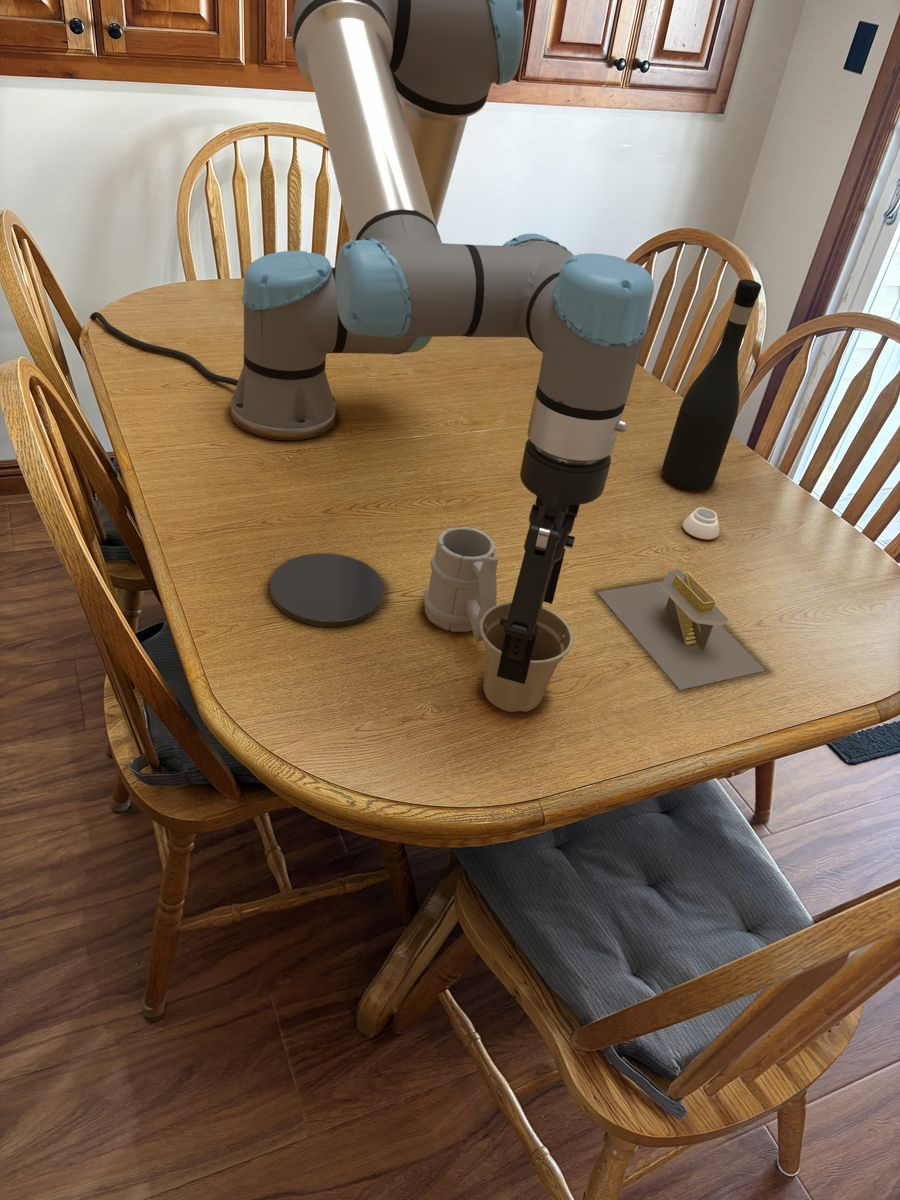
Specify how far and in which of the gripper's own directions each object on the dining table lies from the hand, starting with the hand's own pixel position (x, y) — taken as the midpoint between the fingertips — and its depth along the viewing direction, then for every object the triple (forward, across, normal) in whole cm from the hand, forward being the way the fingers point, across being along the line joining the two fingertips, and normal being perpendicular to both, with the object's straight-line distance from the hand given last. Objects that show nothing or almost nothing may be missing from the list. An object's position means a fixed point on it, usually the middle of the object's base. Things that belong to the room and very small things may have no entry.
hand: (526, 636), depth 94 cm
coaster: (+8, +8, +24) cm, 27 cm away
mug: (+8, +9, +8) cm, 15 cm away
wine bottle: (+8, +57, -14) cm, 59 cm away
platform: (+8, +19, -16) cm, 26 cm away
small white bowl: (+8, +43, -17) cm, 47 cm away
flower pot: (+8, 0, 0) cm, 8 cm away
